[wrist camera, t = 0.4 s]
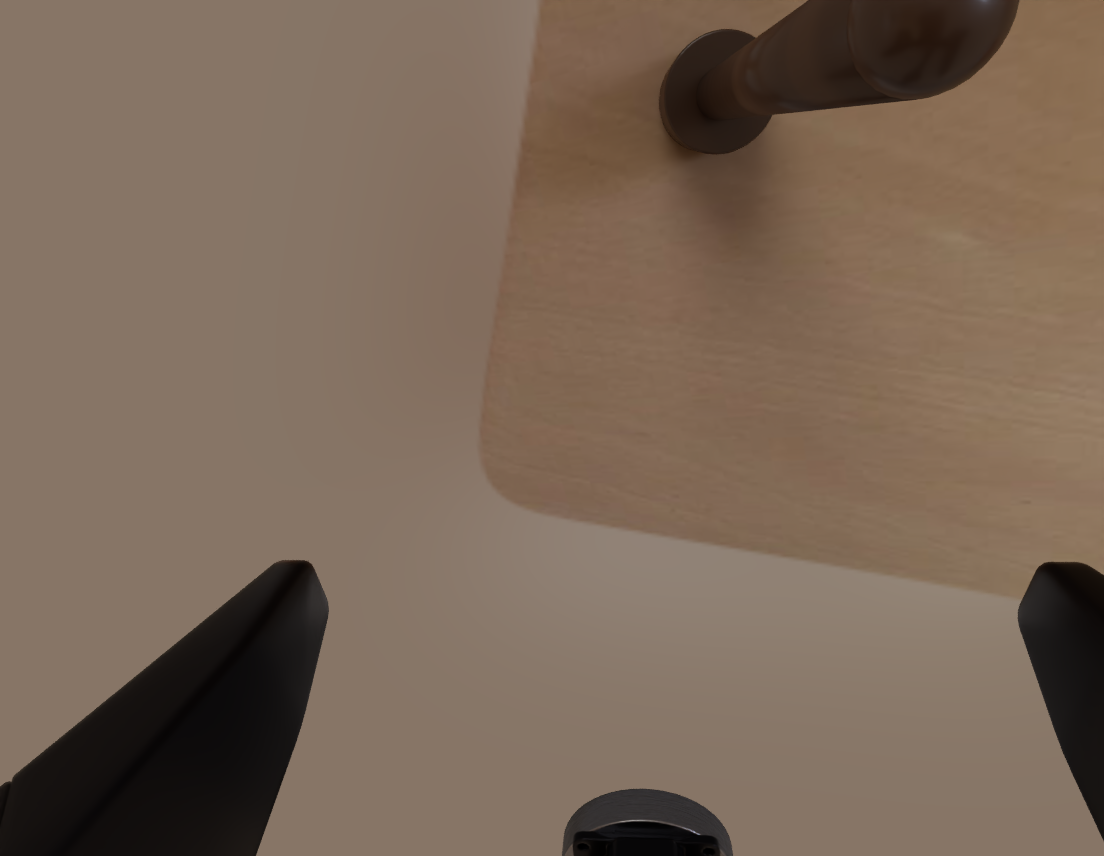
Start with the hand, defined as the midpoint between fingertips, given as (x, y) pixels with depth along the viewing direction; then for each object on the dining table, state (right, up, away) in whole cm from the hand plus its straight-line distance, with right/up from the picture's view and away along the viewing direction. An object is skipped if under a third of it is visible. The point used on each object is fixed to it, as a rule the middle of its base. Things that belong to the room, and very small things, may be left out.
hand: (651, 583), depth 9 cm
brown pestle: (+3, +12, +11) cm, 16 cm away
